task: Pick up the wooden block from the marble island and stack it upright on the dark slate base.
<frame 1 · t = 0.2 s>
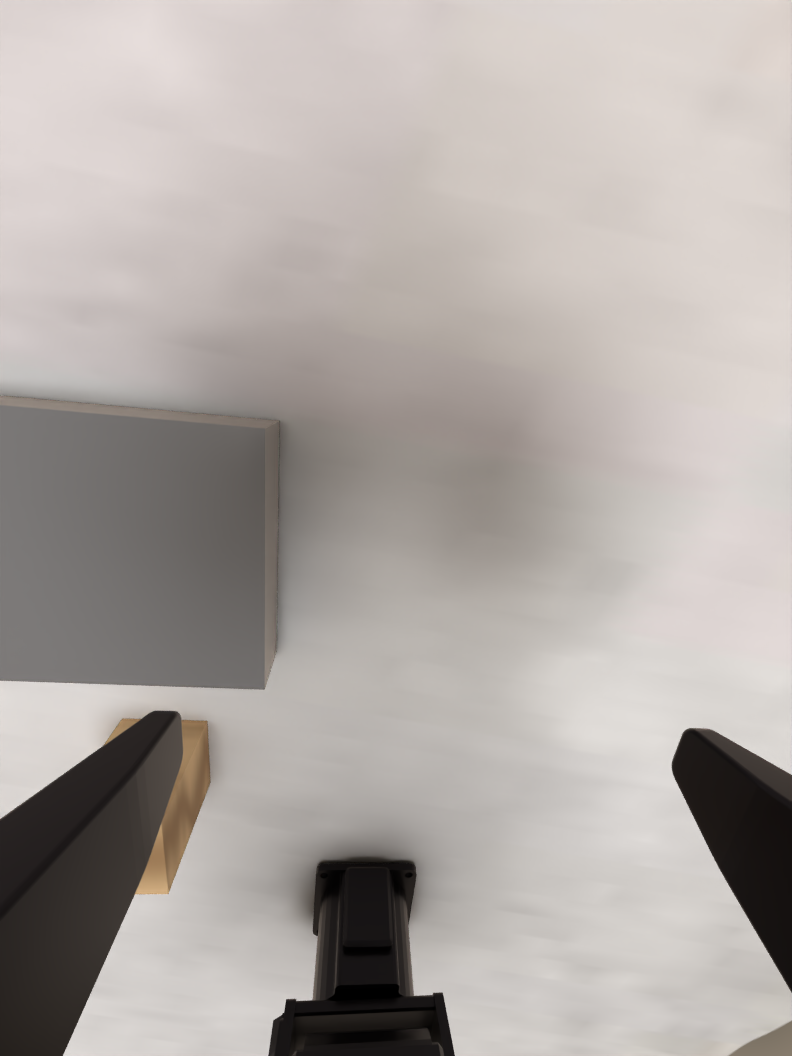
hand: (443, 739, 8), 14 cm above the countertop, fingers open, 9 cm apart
slate base: (148, 538, 21), on the countertop
wooden block: (168, 751, 25), on the countertop
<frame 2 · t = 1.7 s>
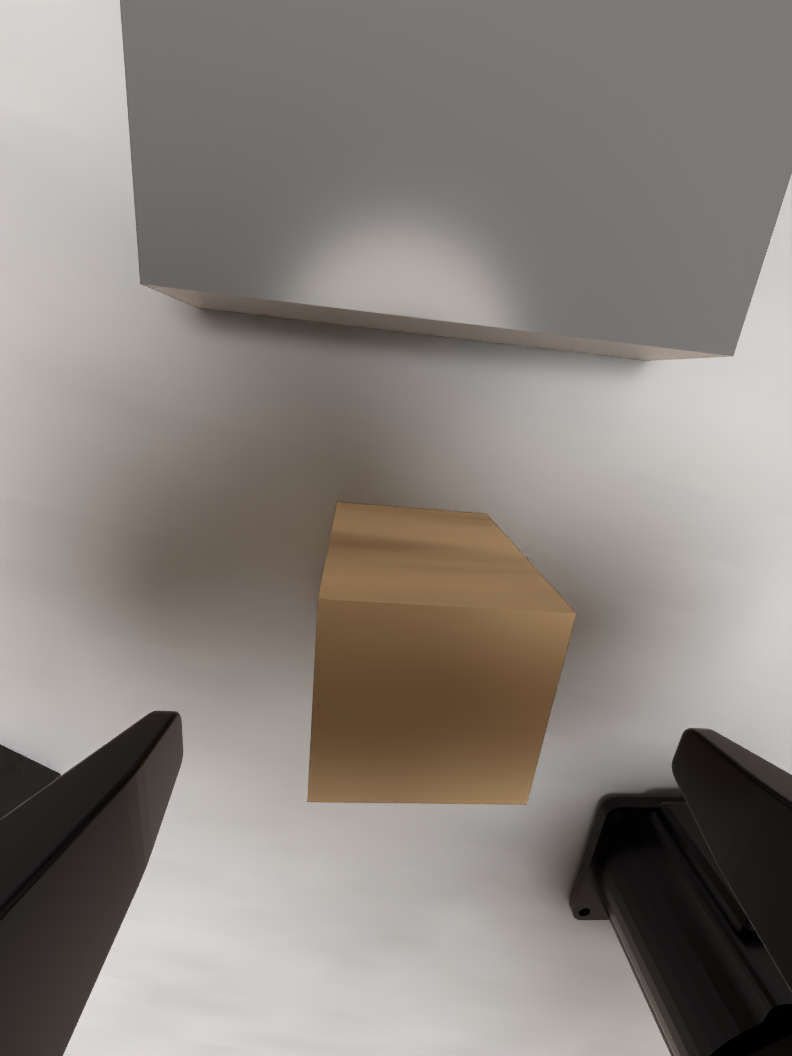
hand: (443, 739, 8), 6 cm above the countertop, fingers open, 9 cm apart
slate base: (468, 41, 10), on the countertop
wooden block: (404, 576, 14), on the countertop
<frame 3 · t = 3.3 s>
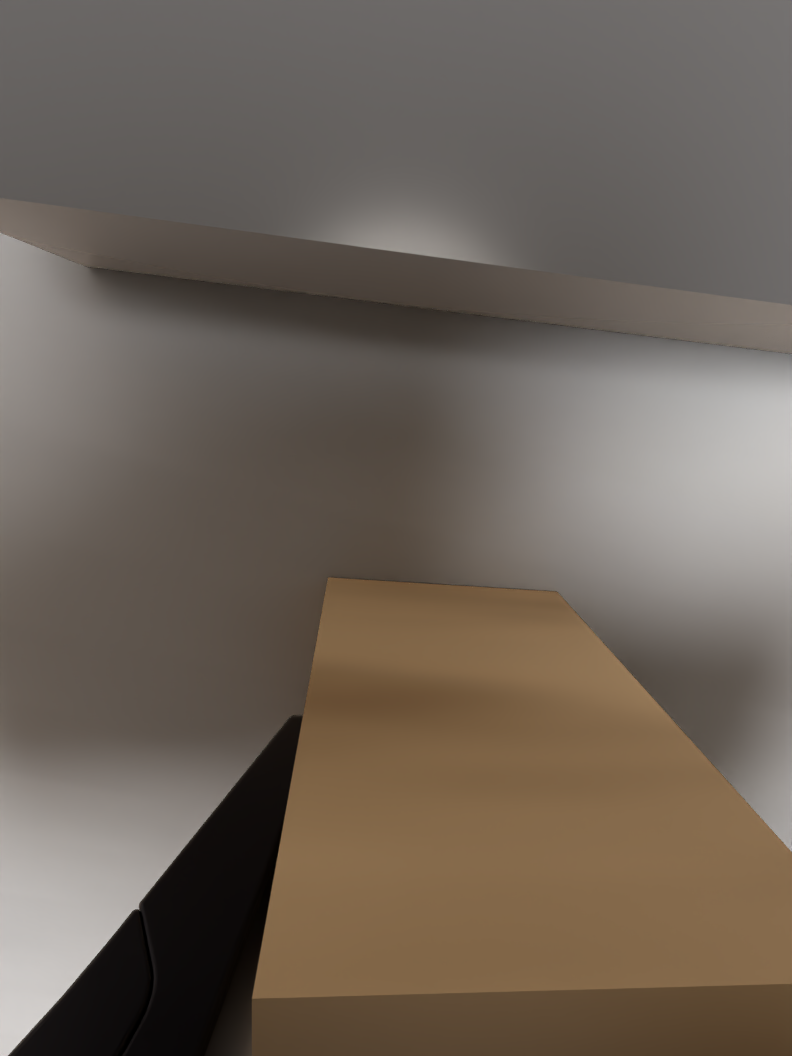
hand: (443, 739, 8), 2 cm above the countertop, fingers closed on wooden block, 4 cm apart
wooden block: (430, 682, 9), on the countertop, touching gripper
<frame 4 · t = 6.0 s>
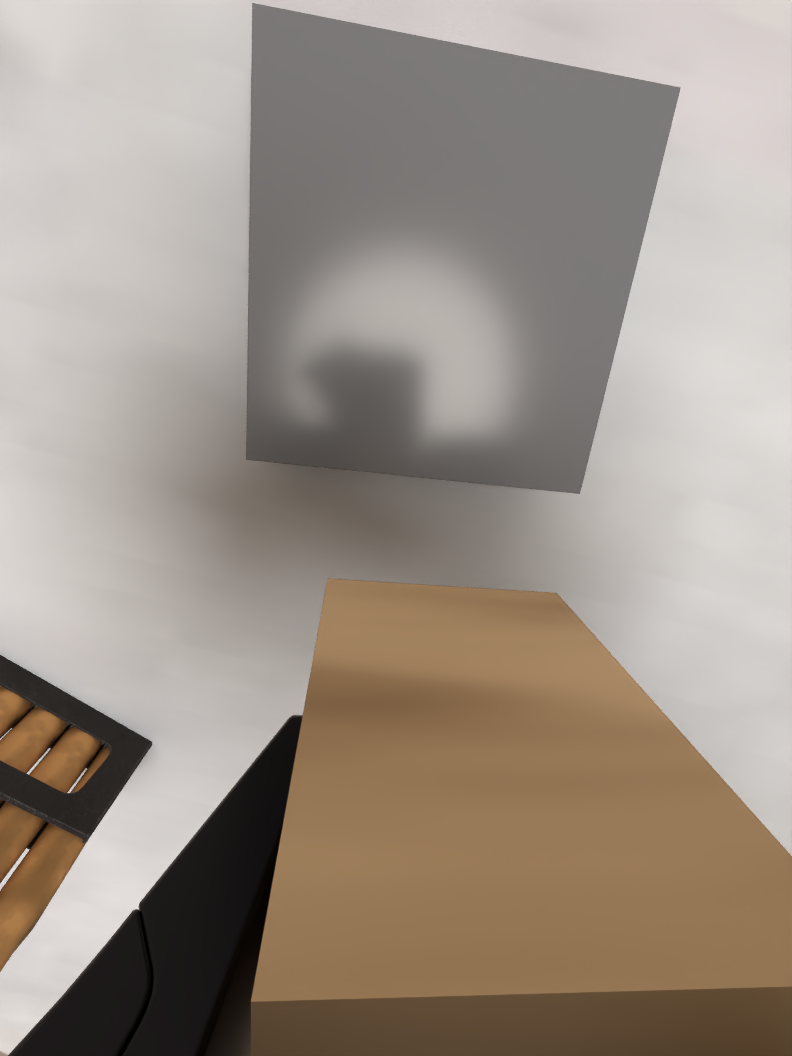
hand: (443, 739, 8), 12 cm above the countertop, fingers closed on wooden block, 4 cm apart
slate base: (430, 305, 17), on the countertop
ammunition clip: (46, 695, 21), on the countertop
wooden block: (430, 683, 9), point 11 cm above the countertop, touching gripper
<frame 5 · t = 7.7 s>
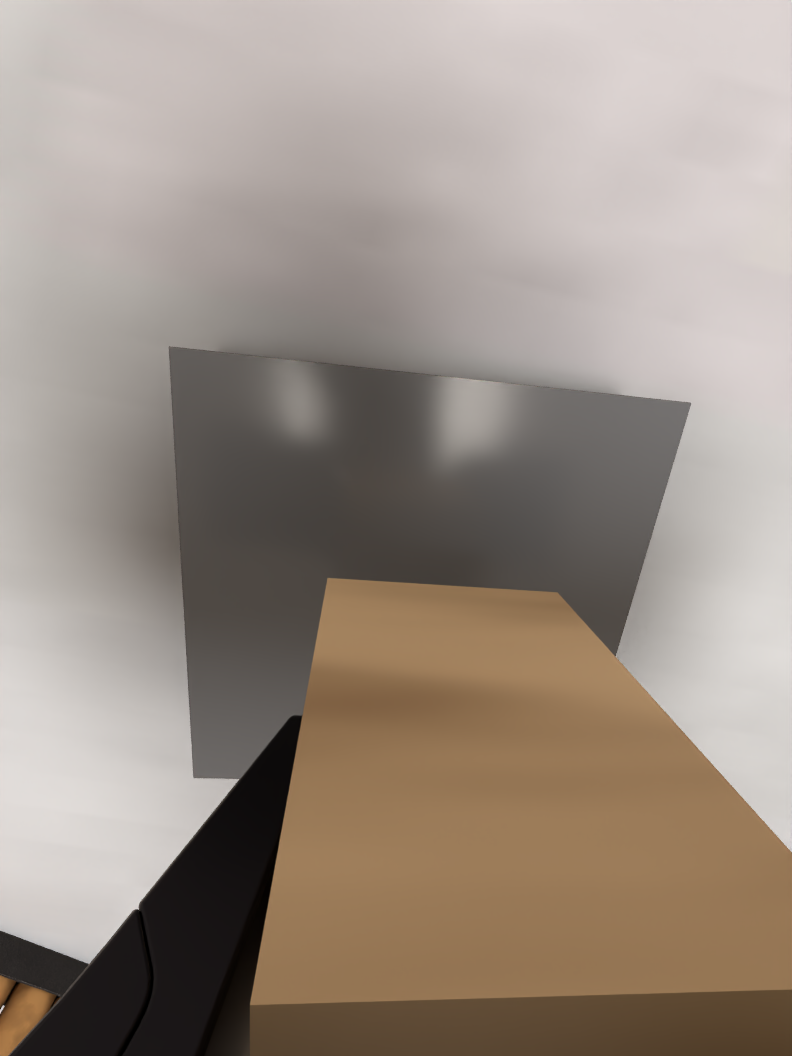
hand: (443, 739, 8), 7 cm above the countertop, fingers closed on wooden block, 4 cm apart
slate base: (405, 565, 15), on the countertop
wooden block: (430, 683, 9), point 6 cm above the countertop, touching gripper
when the fingers open (5 cm above the countertop, at t = 8.9 s): wooden block stays where it is, resting on slate base.
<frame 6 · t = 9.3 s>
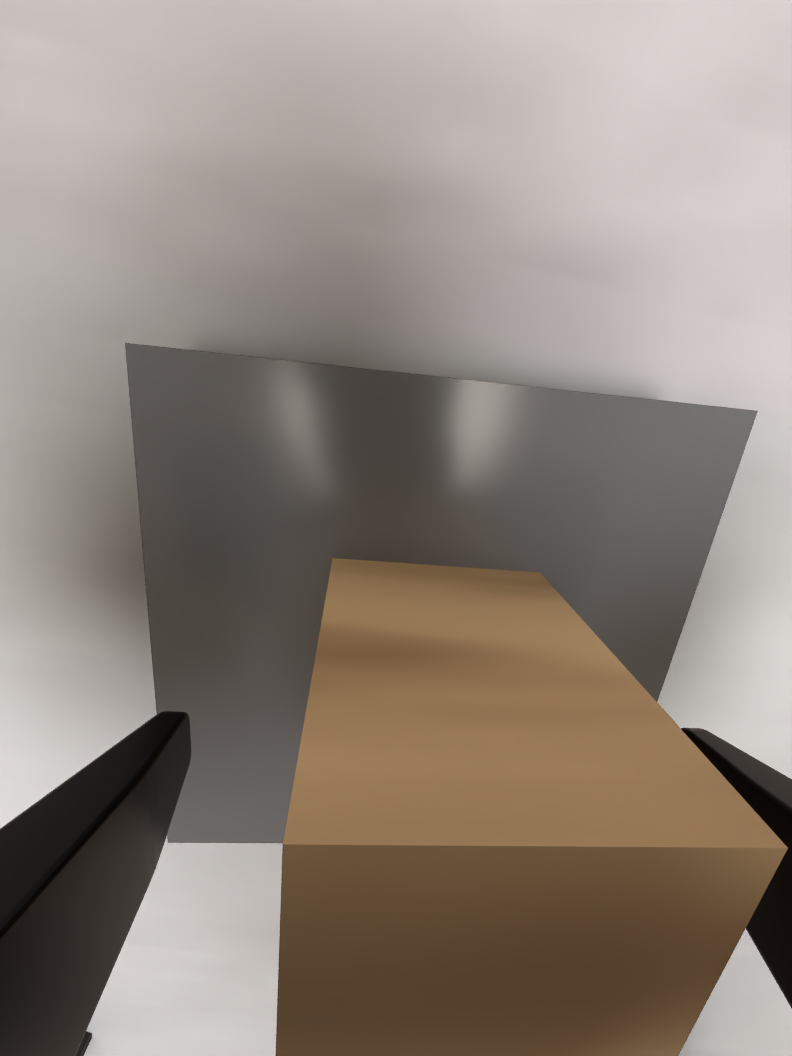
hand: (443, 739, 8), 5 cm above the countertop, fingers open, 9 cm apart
slate base: (411, 593, 13), on the countertop
wooden block: (425, 655, 10), point 3 cm above the countertop, touching slate base
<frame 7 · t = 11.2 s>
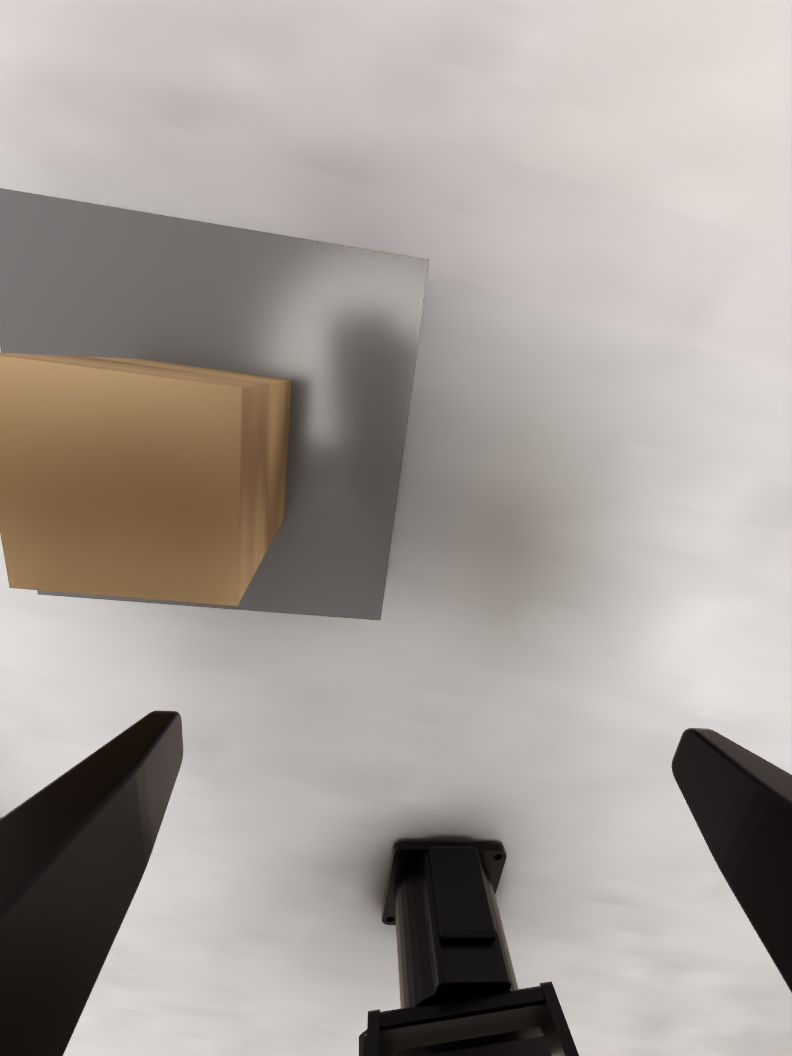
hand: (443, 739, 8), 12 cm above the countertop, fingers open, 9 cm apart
slate base: (239, 430, 17), on the countertop
wooden block: (216, 443, 14), point 3 cm above the countertop, touching slate base
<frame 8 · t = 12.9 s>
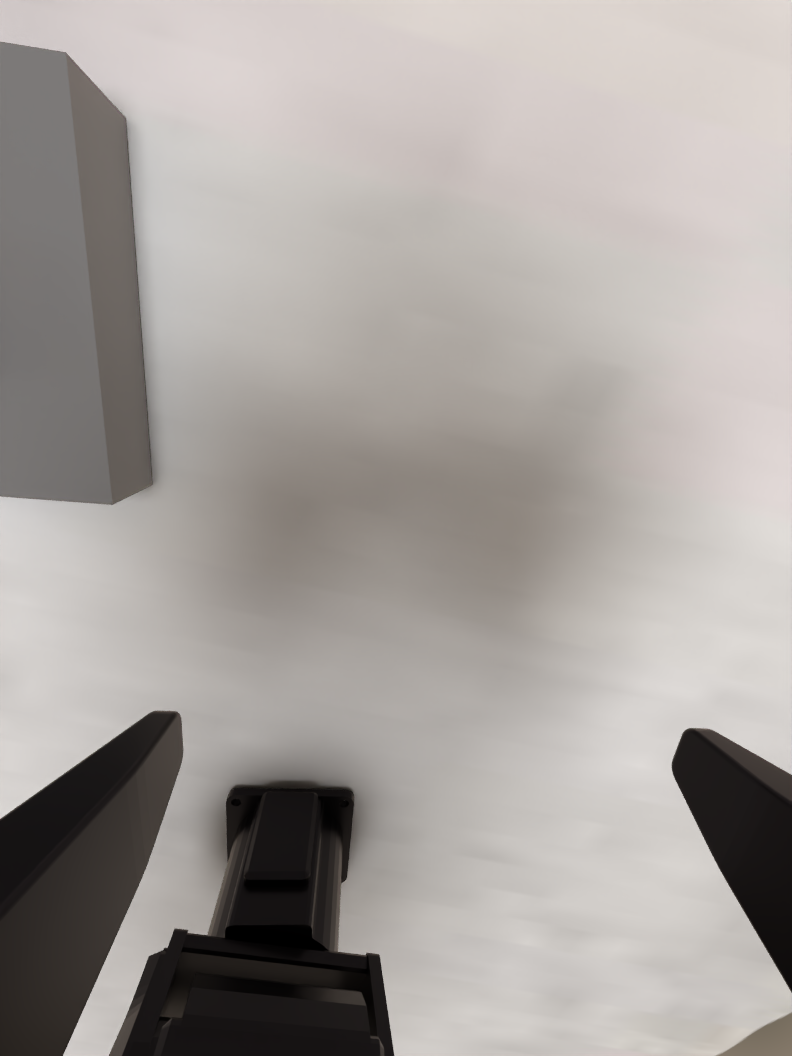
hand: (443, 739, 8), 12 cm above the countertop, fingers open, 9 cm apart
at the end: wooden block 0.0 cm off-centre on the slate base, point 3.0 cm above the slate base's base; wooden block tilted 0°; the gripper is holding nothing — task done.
